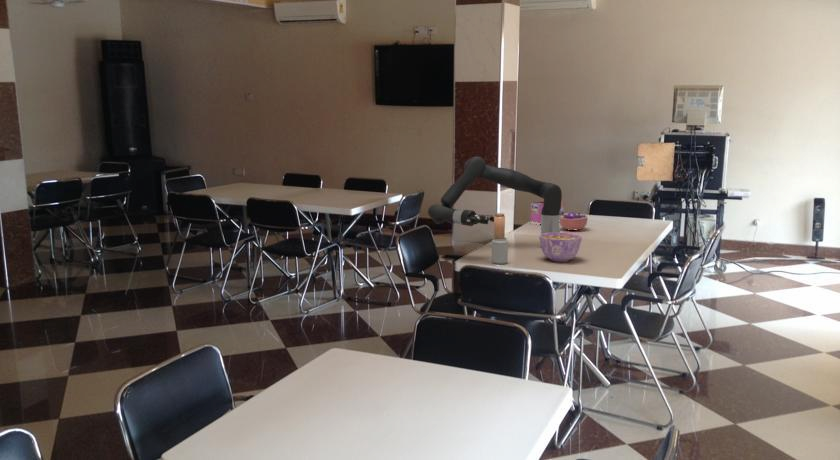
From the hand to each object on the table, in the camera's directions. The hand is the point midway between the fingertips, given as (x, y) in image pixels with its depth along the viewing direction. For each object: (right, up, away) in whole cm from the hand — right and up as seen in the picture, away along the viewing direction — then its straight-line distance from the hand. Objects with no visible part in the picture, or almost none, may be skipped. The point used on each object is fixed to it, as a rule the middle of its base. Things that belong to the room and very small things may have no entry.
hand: (492, 220), depth 326 cm
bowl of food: (+33, -19, +7) cm, 38 cm away
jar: (+3, -8, -1) cm, 8 cm away
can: (+3, -20, +1) cm, 20 cm away
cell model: (+57, -5, +91) cm, 107 cm away
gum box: (+47, 0, +117) cm, 126 cm away
